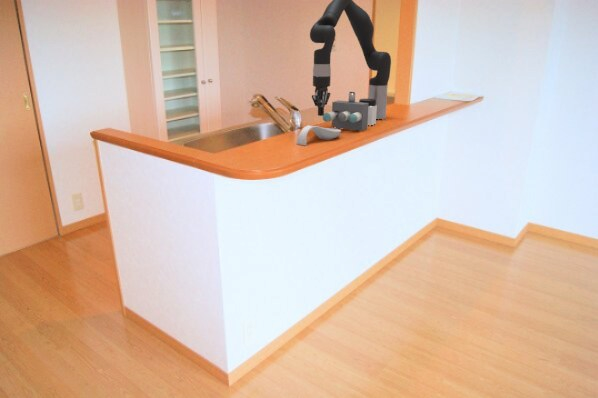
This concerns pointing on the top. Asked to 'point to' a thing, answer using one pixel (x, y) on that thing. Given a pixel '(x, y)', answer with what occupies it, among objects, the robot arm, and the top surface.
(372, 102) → the jar
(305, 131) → the spoon rest
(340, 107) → the panel
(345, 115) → the knob mid
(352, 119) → the knob right
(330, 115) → the knob left
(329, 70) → the robot arm
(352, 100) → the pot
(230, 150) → the top surface
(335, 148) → the top surface
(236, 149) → the top surface
